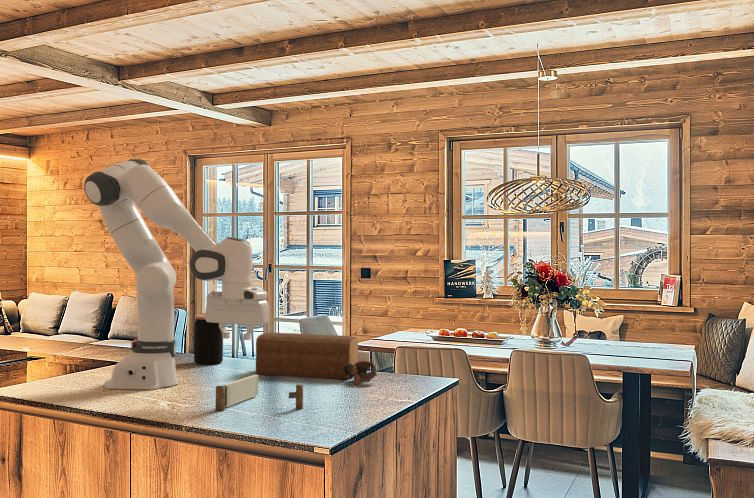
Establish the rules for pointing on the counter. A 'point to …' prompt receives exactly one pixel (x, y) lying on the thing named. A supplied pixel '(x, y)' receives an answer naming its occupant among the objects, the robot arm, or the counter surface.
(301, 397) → the post
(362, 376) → the pottery mug
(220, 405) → the hinge post
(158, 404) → the counter surface
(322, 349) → the bread
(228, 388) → the gate
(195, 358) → the coffee jar
